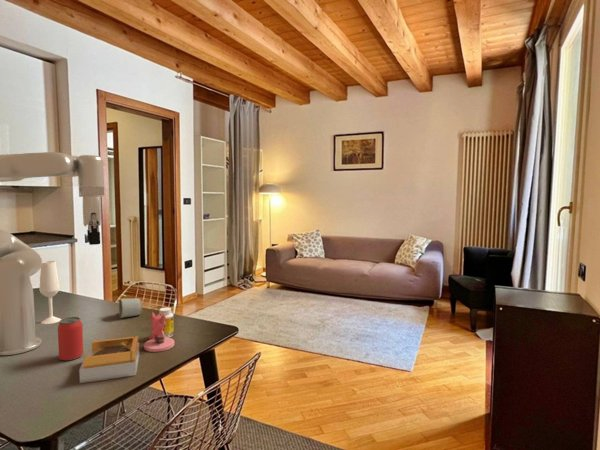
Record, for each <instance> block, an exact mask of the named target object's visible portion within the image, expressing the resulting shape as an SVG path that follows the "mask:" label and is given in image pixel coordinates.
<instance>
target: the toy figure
mask: <svg viewBox="0 0 600 450" xmlns="http://www.w3.org/2000/svg"><path fill="white" fill-rule="evenodd" d="M158 314H159V313H158ZM161 315H162V314H161ZM161 315H160V314H159V316H157V315H156V314H155V313H154V311H153V310H152V311H151V314H150V321H151V326H152V327H151V333H152V335H149V336H148V338H149V340H147V341H146V342H144V344H143V349H144V350H145V351H146V352H150V353H151V352H152V353H157V352H158V353H159V352H164V351H168V350H171V349H172V348H173V347H174V346H175V340H174V339H173V338H172V337H170V338H168V337H166V336H164V332H163V331H164V329H165V323H166V322H165V319H166V316H165V315H164V313H163V316H161ZM162 328H163V331H162Z"/></svg>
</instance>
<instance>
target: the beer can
mask: <svg viewBox="0 0 600 450" xmlns="http://www.w3.org/2000/svg"><path fill="white" fill-rule="evenodd" d="M83 333H84V330H83V323H82V321H81V318H80V317H79V316H73V317H71V316H70V317H65V318H61V320H60V321H59V322H58V326H57V342H58V343H57V344H58V359H59V360H61V361H63V362H64V361H74V360H76V359H78V358H80V357H82V356H83V355H84V335H83Z"/></svg>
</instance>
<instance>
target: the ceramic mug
mask: <svg viewBox="0 0 600 450" xmlns="http://www.w3.org/2000/svg"><path fill="white" fill-rule="evenodd" d="M118 313H119V317H120V318H121V319H124V318H129V317H136V316H139V315H141V314H142V313H143V301H142V299H141V298H139V297H138V298H137V297H136V298H135V297H134V298H133V297H132V298H121V299H119V302H118Z"/></svg>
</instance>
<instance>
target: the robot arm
mask: <svg viewBox="0 0 600 450" xmlns="http://www.w3.org/2000/svg"><path fill="white" fill-rule="evenodd" d="M104 170H105V169H104V159H103V158H102V156H99V155H93V154H92V155H91V154H90V155H89V154H84V155H83V154H82V155H79V156H77V155H72V154H67V153H63V152H59V151H58V152H57V151H50V152H49V151H48V152H27V153H25V152H23V153H11V154H10V153H9V154H0V183H5V182H20V181H23V180H24V179H31V178H47V177H48V178H49V177H63V178H75V177H76V178H78V179H77V181H78V197H80V198H82V220H83V221H82V224H83V226H84V227H85V228H86V227H87V230H86V231H87V233H86V234H87V241H88V244H89V246H92V245H93V246H94V245H100V244H101V232H100V227H101V224H102V200H101V199H102V198H105V196H106V195H105V176H104V175H105V171H104ZM42 262H43V260H42V257H41V255H40V254H39V252H37V251H36V250H35V249H33V248H32V247H31V246H30V245H28V244H26V243H25V242H23V241H22V240H21V239H19V238H18V237H16V236H15V235H13V234H12V233H10V232H8V231H5V230H3V229H0V356H12V355H19V354H22V353H26V352H29V351H32V350H34V349H35V350H36V349H37V348H38V347H40V346H41V345H42V338H41V337H38V336H37V335H36V334H37V333H36V318H35V315H36V314H35V300H34V289H33V284H32V282H31V277H32V276H33V275H35V274H36V273H38V272H39V271H41V266H42Z"/></svg>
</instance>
